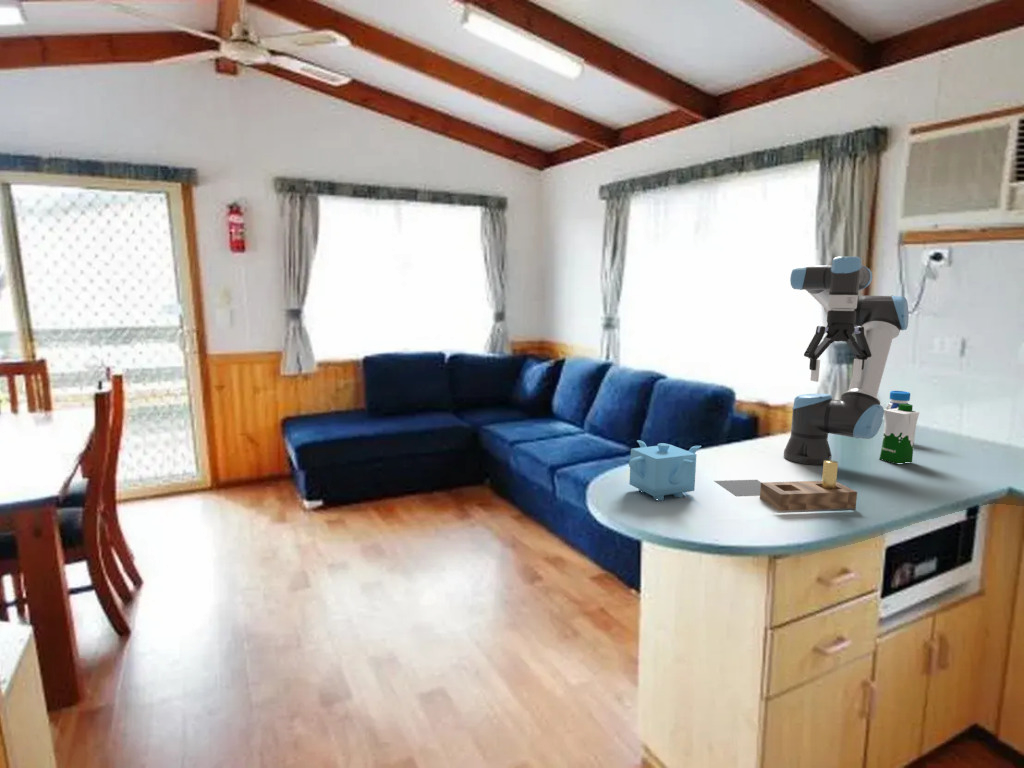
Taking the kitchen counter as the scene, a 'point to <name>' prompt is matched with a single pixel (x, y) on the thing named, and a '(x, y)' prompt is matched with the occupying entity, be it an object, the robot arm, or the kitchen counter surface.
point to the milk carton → (899, 434)
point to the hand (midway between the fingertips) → (835, 381)
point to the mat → (742, 487)
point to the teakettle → (663, 469)
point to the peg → (829, 475)
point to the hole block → (806, 496)
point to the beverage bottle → (898, 399)
